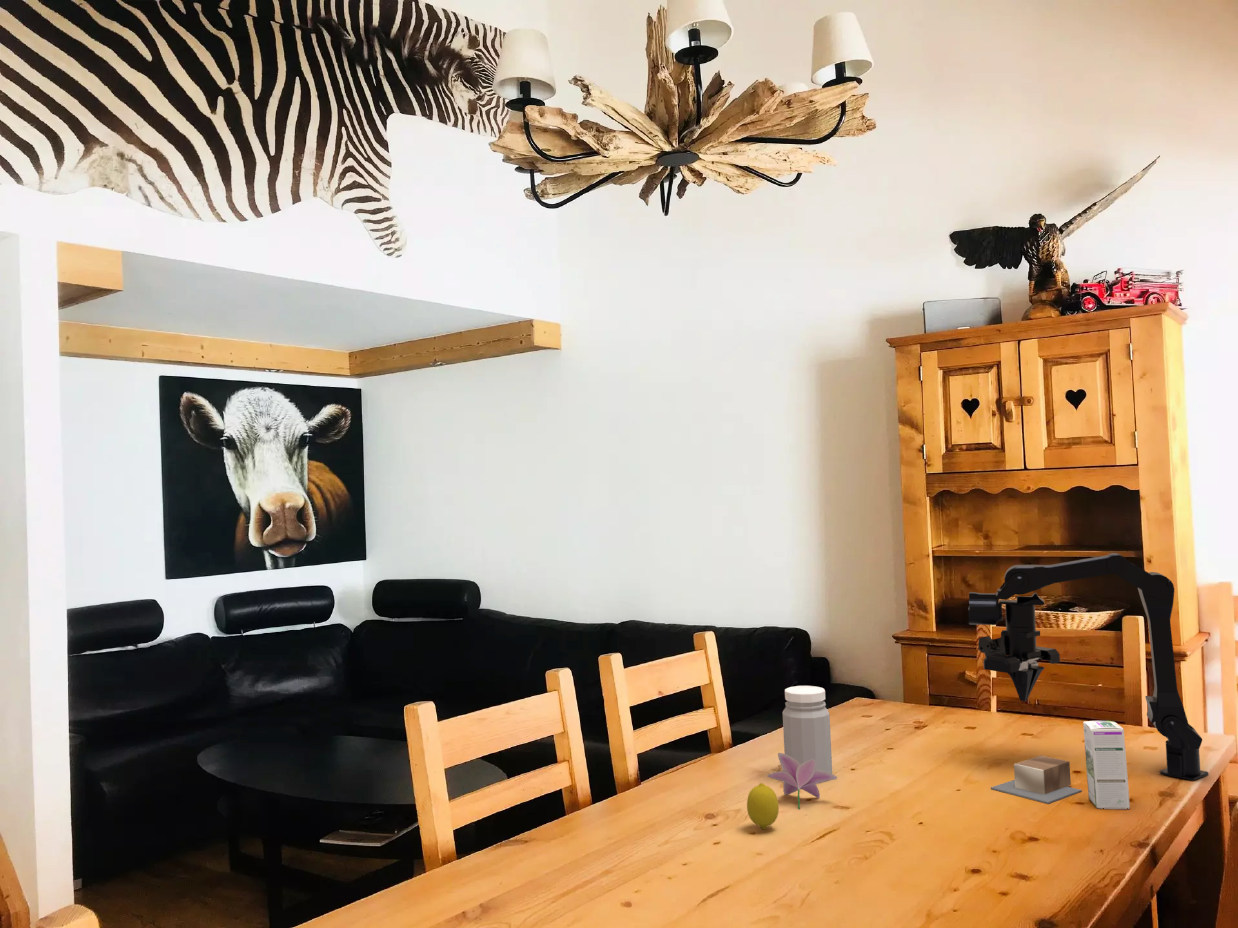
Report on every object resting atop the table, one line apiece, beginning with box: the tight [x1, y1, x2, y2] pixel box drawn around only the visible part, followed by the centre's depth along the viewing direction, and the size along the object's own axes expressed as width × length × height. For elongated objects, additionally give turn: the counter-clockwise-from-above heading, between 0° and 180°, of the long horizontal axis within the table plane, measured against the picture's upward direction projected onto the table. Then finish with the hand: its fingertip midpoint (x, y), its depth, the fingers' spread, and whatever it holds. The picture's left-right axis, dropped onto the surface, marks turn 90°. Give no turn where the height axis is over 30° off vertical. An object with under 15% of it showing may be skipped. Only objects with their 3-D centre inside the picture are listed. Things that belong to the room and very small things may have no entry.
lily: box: [766, 752, 838, 810], centre depth 183 cm, size 12×12×10 cm
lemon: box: [746, 782, 780, 830], centre depth 170 cm, size 6×6×8 cm
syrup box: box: [1082, 720, 1131, 810], centre depth 175 cm, size 6×6×14 cm
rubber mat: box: [990, 779, 1083, 805], centre depth 185 cm, size 11×12×1 cm
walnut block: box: [1013, 755, 1072, 795], centre depth 186 cm, size 4×6×9 cm
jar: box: [782, 685, 833, 774], centre depth 200 cm, size 10×10×18 cm
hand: (1023, 700), depth 201 cm, fingers closed
